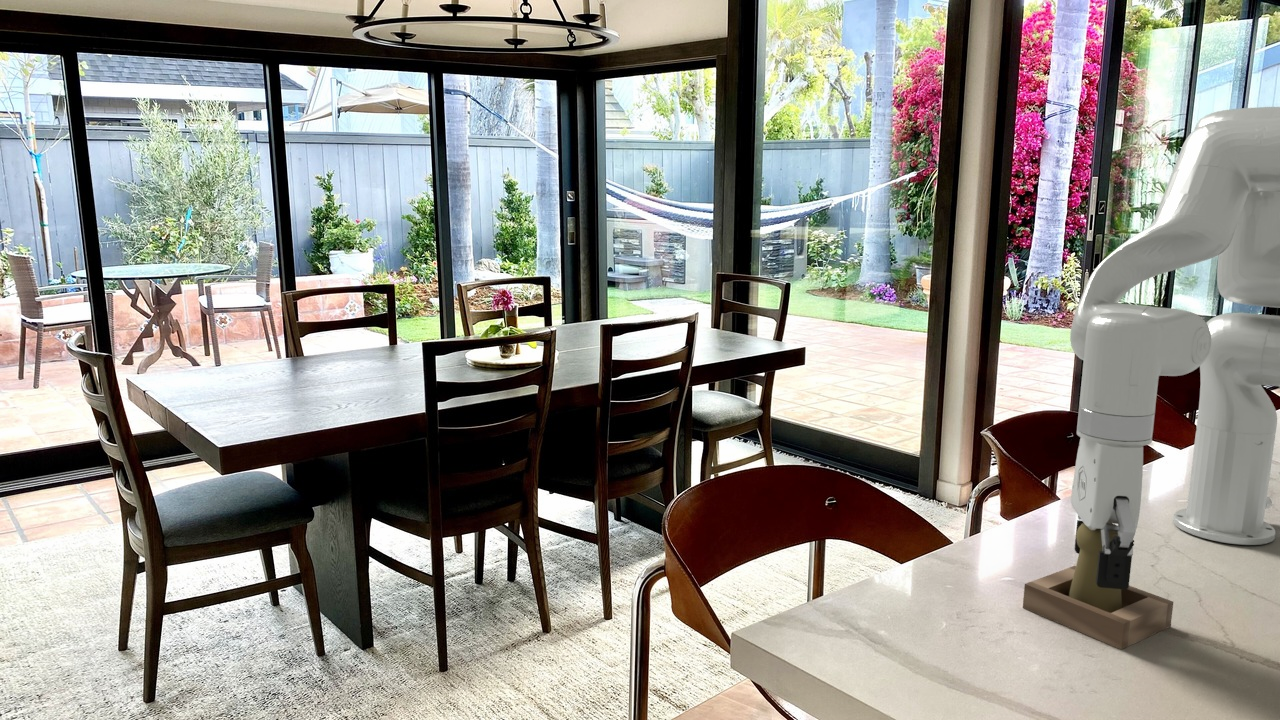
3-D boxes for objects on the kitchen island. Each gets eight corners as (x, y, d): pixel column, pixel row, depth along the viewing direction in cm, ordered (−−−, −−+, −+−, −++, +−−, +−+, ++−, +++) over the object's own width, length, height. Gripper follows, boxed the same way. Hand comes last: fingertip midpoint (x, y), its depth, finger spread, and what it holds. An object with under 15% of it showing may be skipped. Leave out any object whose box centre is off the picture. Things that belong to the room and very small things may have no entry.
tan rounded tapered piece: (1128, 628, 106) (1138, 536, 104) (1070, 622, 107) (1079, 531, 105) (1115, 605, 111) (1124, 517, 109) (1060, 600, 113) (1069, 513, 111)
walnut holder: (1072, 588, 116) (1074, 565, 116) (1170, 626, 106) (1173, 601, 106) (1022, 607, 111) (1024, 583, 110) (1121, 649, 101) (1124, 623, 100)
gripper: (1061, 405, 113) (1048, 539, 116) (1099, 443, 97) (1083, 599, 100) (1128, 408, 112) (1114, 544, 115) (1178, 448, 95) (1160, 605, 98)
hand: (1099, 569), depth 107 cm, fingers open, 9 cm apart
